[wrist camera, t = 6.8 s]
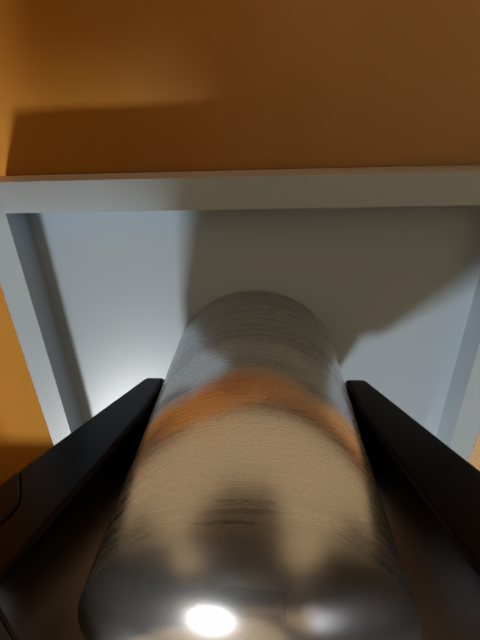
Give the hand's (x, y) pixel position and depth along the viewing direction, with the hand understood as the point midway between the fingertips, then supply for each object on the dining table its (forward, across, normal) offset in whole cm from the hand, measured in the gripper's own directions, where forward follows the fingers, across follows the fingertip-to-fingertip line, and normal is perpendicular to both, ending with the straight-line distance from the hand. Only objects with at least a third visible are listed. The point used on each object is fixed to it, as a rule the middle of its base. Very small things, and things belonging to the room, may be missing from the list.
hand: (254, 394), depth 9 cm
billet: (+1, 0, 0) cm, 1 cm away
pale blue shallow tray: (+2, 0, 0) cm, 2 cm away
